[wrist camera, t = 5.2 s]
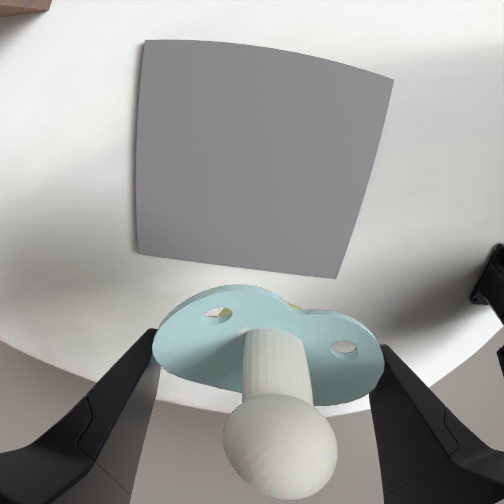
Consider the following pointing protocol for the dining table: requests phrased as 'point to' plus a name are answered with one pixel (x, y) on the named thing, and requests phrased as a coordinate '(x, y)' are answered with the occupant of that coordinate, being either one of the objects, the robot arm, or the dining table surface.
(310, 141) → the mat
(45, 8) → the tissue box cover
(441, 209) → the dining table surface
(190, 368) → the pacifier
